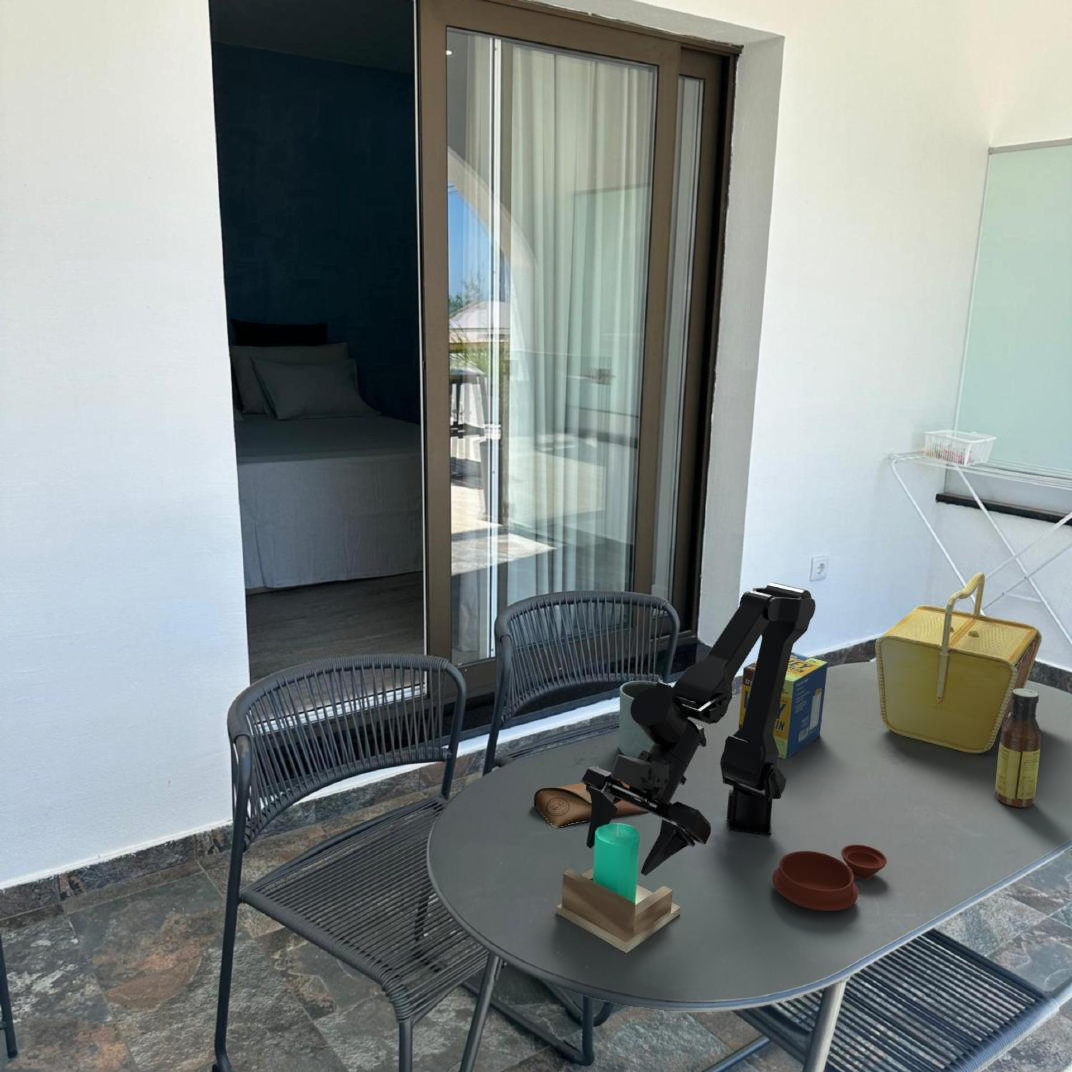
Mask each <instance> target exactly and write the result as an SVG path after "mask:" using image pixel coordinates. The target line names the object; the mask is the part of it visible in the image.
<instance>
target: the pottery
mask: <svg viewBox="0 0 1072 1072" xmlns="http://www.w3.org/2000/svg"><path fill="white" fill-rule="evenodd" d="M840 854H841V857H842V859H843V861H844V862H843V861H841V860H840V859H838V858H837V857H834V856H832V855H829V854H826V853H822V852H820V851H819V852H818V851H812V850H809V851H808V850H799V851H794V852H790V853H787V854H786V855H784V856H783V857H782V858H781V859H780V861H779V863H778V865H779V866H778V868H776V869H775V870H774V872H773V873H772V876H771V881H772V885H773V886H774V889H776V891H777V892H778V893H779V894H780V895H781V896H782V897H784V898H785V899H786V900H788V901H790V902H792V903H794V904H796V905H797V906H800V907H803V908H806V909H812V910H817V911H824V912H825V911H826V912H827V911H828V912H829V911H830V912H831V911H840V910H844V909H847V908H849V907H851V906H852V905H854V904H855V903H856V901H857V900H858V898H859V890H858V887H857V885H856V884H855V883H854V882H855V878H857V879H861V880H870V879H872V878H873V875H875V874H877V873H878V872H879V871H880V870H882V869H883V868H885V866H886V865H887V862H888V860H887V859H888V858H887V857H886V855H885V854H884V853H882V851H880V850H878V849H876V848H874V847H871V846H869V845H868V846H867V845H863V844H849V845H847V846H844V847H843V848H842V849H841V853H840Z"/></svg>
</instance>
